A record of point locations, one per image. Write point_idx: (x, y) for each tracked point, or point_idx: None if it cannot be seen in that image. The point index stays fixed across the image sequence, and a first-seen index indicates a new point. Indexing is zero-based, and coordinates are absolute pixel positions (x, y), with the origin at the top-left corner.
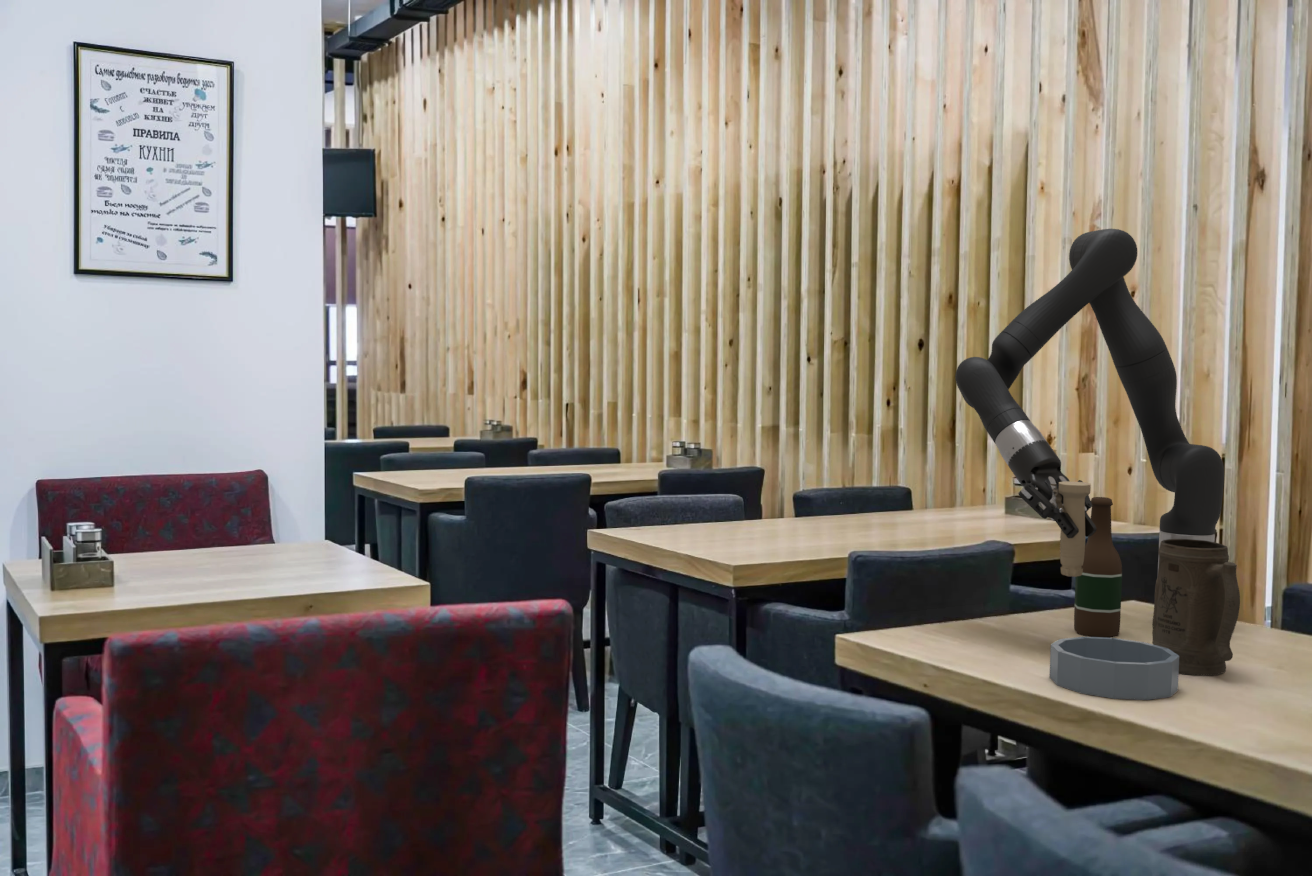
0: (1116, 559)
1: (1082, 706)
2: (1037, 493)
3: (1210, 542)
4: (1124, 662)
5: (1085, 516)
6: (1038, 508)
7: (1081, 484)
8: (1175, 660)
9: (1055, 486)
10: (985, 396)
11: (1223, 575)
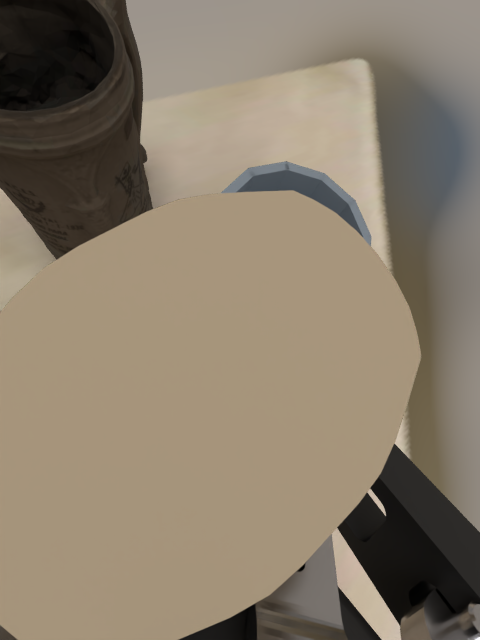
0: None
1: (382, 229)
2: (472, 547)
3: None
4: (341, 195)
5: None
6: (365, 512)
7: (247, 265)
8: (268, 165)
9: (270, 601)
10: None
11: (125, 26)
